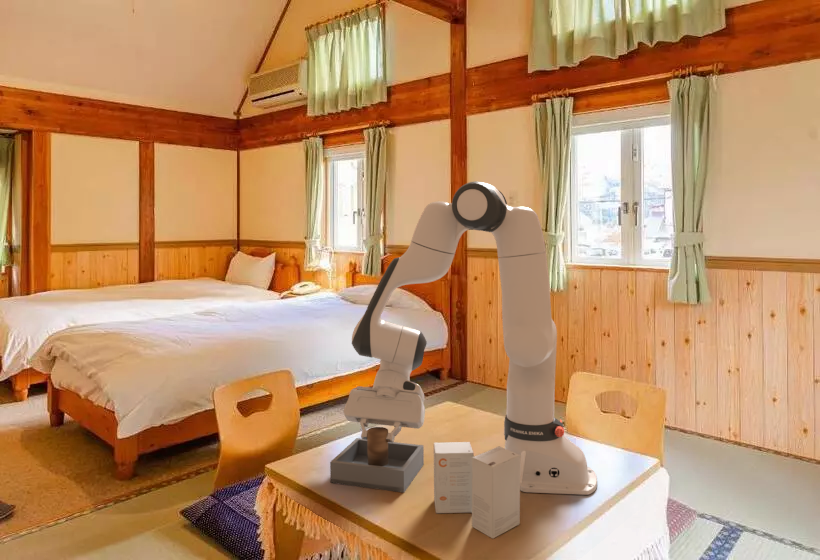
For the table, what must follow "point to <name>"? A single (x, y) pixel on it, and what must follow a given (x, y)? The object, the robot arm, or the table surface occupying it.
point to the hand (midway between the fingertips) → (376, 439)
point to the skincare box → (495, 491)
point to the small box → (453, 477)
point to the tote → (391, 477)
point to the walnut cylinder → (377, 446)
